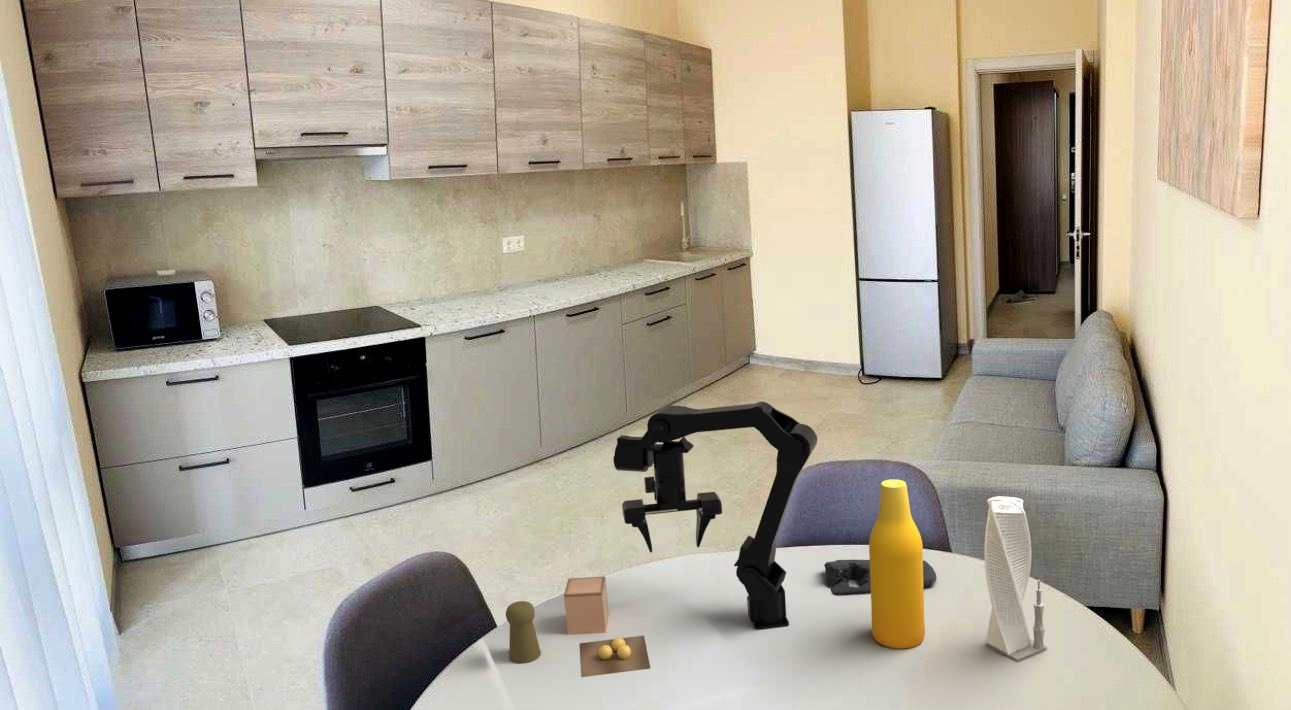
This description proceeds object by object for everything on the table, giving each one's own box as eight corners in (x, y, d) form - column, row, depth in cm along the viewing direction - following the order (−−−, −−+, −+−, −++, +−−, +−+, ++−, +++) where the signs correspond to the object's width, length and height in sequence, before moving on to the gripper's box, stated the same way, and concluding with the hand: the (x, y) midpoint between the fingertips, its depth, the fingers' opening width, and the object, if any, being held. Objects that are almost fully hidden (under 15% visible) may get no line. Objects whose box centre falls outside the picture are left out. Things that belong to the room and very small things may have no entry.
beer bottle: (929, 628, 174) (925, 476, 168) (920, 653, 166) (916, 494, 160) (877, 621, 178) (872, 473, 172) (867, 645, 170) (861, 490, 164)
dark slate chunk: (941, 596, 187) (941, 573, 186) (827, 598, 190) (826, 576, 189) (929, 563, 202) (928, 542, 201) (823, 565, 205) (822, 545, 204)
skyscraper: (1011, 664, 160) (1010, 505, 154) (974, 644, 167) (972, 492, 161) (1046, 649, 164) (1047, 494, 158) (1009, 630, 171) (1008, 481, 165)
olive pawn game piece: (536, 669, 171) (530, 612, 169) (504, 668, 172) (497, 611, 170) (546, 652, 177) (540, 597, 174) (515, 651, 178) (509, 596, 176)
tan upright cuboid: (609, 619, 187) (605, 576, 186) (606, 637, 180) (602, 592, 179) (572, 621, 188) (568, 578, 186) (568, 639, 181) (563, 595, 179)
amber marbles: (623, 646, 175) (622, 633, 174) (633, 659, 170) (632, 646, 169) (594, 653, 173) (593, 640, 173) (604, 667, 168) (603, 654, 168)
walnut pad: (644, 640, 178) (643, 635, 178) (651, 673, 166) (650, 668, 166) (580, 648, 177) (579, 643, 177) (582, 682, 165) (581, 676, 165)
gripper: (710, 455, 191) (714, 528, 194) (617, 464, 190) (623, 538, 193) (720, 472, 180) (724, 550, 184) (622, 482, 179) (628, 560, 182)
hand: (674, 549), depth 186 cm, fingers open, 9 cm apart
